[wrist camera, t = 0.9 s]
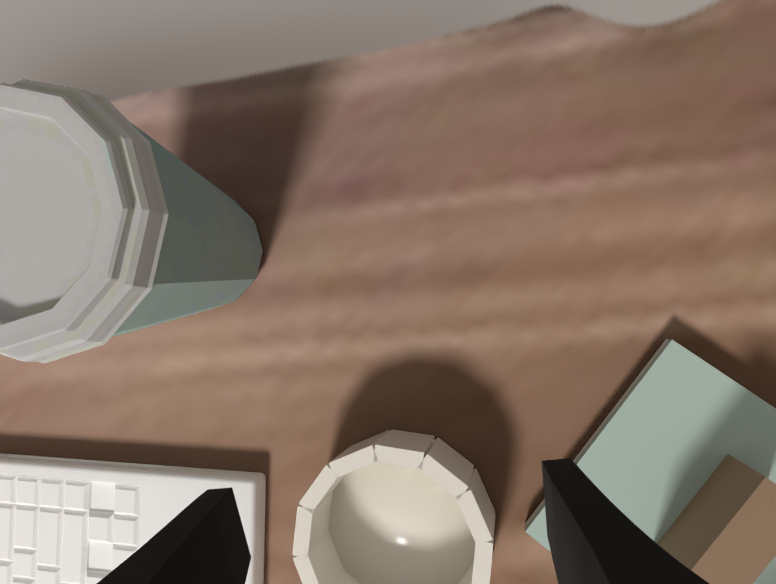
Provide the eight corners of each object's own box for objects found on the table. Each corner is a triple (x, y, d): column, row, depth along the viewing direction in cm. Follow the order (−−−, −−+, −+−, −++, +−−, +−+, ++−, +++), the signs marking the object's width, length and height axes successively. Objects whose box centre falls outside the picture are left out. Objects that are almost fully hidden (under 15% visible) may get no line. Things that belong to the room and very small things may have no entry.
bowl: (530, 509, 29) (533, 538, 25) (424, 649, 30) (411, 698, 26) (385, 396, 31) (367, 406, 27) (289, 530, 32) (258, 559, 28)
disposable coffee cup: (297, 165, 33) (127, 38, 18) (299, 347, 32) (124, 368, 18) (139, 178, 35) (-125, 76, 20) (138, 349, 34) (-136, 369, 20)
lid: (905, 497, 25) (991, 535, 21) (739, 697, 26) (786, 775, 22) (668, 339, 28) (699, 342, 23) (525, 527, 29) (527, 565, 24)
